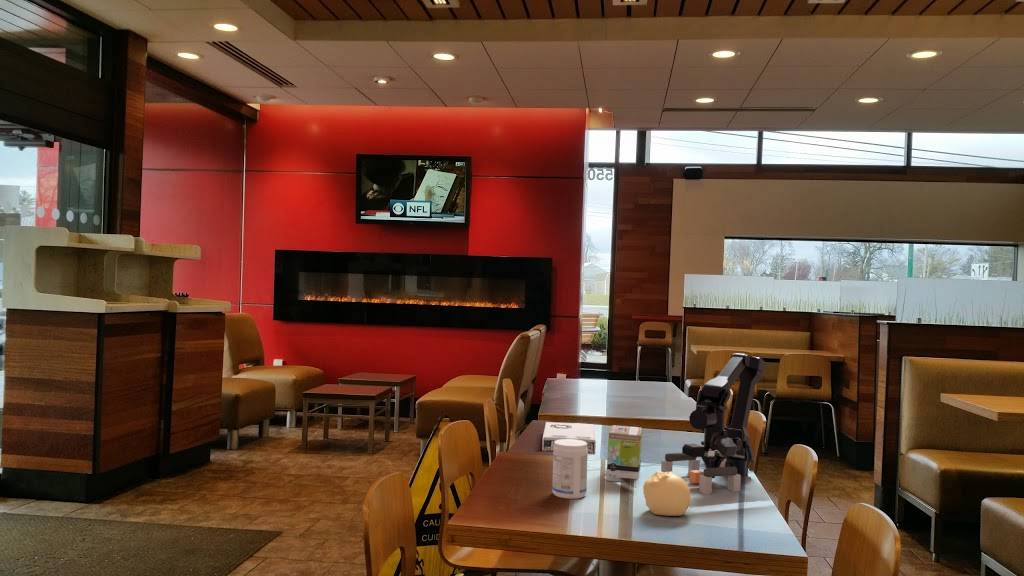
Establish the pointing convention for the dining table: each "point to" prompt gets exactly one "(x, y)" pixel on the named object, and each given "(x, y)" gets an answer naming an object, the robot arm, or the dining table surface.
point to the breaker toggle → (695, 476)
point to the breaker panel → (696, 485)
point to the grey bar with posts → (731, 472)
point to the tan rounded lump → (666, 494)
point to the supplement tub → (570, 468)
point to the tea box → (624, 453)
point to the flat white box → (568, 434)
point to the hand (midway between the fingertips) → (712, 478)
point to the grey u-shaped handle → (667, 463)
